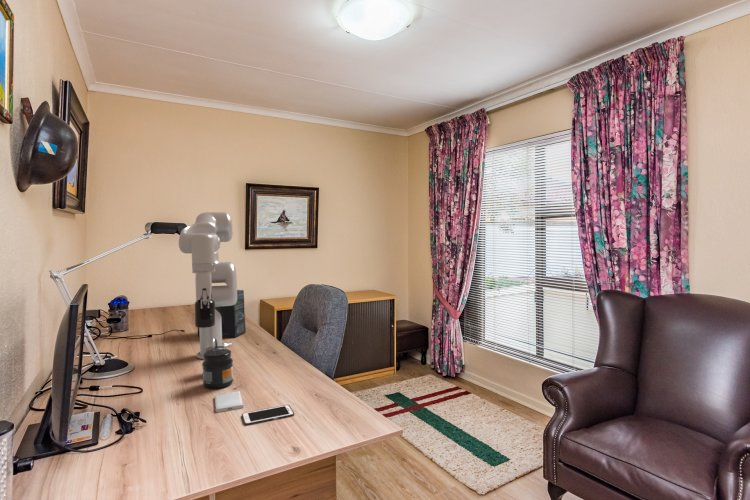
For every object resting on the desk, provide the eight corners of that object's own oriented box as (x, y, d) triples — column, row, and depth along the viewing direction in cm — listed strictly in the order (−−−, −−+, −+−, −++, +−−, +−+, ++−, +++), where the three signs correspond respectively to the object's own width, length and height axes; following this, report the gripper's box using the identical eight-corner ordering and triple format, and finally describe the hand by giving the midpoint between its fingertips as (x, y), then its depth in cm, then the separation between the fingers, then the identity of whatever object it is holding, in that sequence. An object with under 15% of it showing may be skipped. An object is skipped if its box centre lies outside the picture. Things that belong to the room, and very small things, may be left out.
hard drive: (214, 394, 139) (215, 408, 127) (240, 390, 142) (243, 404, 130) (214, 399, 139) (216, 414, 127) (240, 395, 142) (243, 409, 130)
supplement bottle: (207, 328, 144) (206, 294, 144) (190, 327, 146) (189, 294, 145) (219, 324, 151) (218, 291, 150) (203, 323, 153) (202, 291, 152)
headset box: (196, 337, 221) (195, 289, 220) (209, 331, 233) (207, 286, 232) (235, 338, 218) (234, 289, 216) (246, 332, 229) (244, 286, 228)
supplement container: (239, 381, 154) (238, 350, 153) (218, 391, 144) (217, 358, 143) (218, 377, 158) (217, 347, 157) (196, 387, 148) (195, 354, 148)
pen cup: (219, 369, 168) (217, 335, 167) (228, 372, 164) (227, 337, 163) (202, 373, 163) (201, 338, 162) (212, 377, 158) (211, 341, 158)
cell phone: (241, 416, 125) (241, 413, 125) (289, 407, 131) (289, 404, 131) (244, 427, 118) (244, 423, 118) (295, 416, 124) (295, 413, 124)
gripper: (192, 266, 154) (194, 313, 155) (191, 271, 138) (193, 323, 139) (214, 265, 157) (215, 312, 158) (215, 269, 141) (217, 321, 142)
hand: (205, 316), depth 148 cm, fingers closed on supplement bottle, 6 cm apart
